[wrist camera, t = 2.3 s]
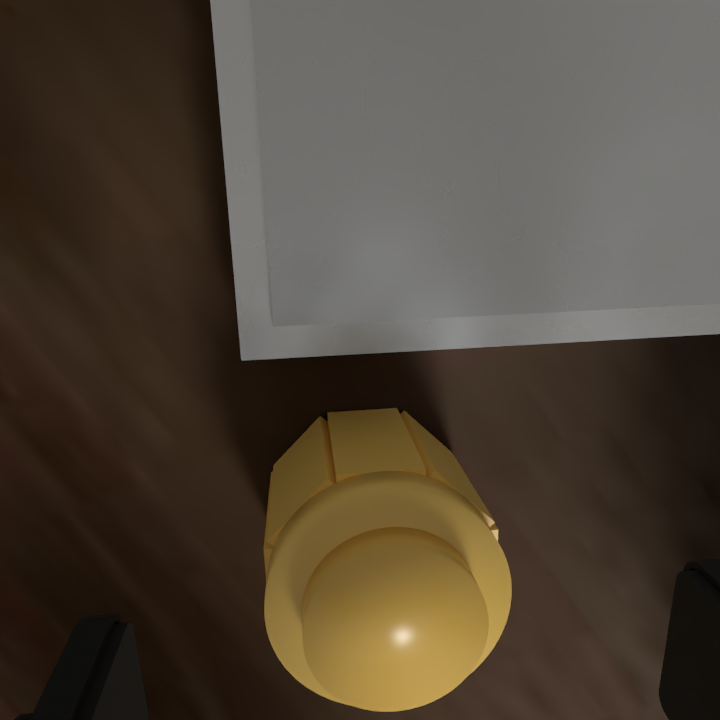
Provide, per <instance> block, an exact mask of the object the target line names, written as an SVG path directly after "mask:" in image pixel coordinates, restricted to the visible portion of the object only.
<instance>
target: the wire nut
mask: <svg viewBox="0 0 720 720" xmlns="http://www.w3.org/2000/svg"><path fill="white" fill-rule="evenodd" d="M327 418H328V422H327V421H326V420H325V419H324V418H323V417H321V416H319V417H318V419H317V420H316V421H315V422H314V423H313V424H312V425H311V426H310V427H309V428H308V429H307V430H306V431H305V432H304V433H303V434H302V435H301V437H300V438H299V439H298V440H297V441H296V442H295V443H294V444H293V445H292V446H291V447H290V448H289V449H288V450H287V451H286V452H285V453H284V454H283V456H282V457H281V458H280V459H279V460H278V461H277V462H276V463H275V464H274V465H273V472H271V477H270V488H269V498H268V508H267V519H266V529H265V540H264V561H265V573H266V589H265V601H264V618H265V624H266V630H267V634H268V637H269V640H270V643H271V645H272V647H273V649H274V651H275V653H276V655H277V657H278V659H279V660H280V661H281V663H282V664H283V666H284V667H285V668H286V669H287V670H288V672H289V673H290V674H291V675H292V676H293V677H294V678H295V679H296V680H298V681H299V682H300V683H302V684H303V685H304V686H305V687H307V688H308V689H310V690H312V691H313V692H315V693H317V694H319V695H321V696H323V697H325V698H328V699H330V700H332V701H336V702H339V703H343V704H346V705H351V706H354V707H358V708H361V709H365V710H371V711H381V712H392V711H402V710H408V709H413V708H416V707H420V706H423V705H426V704H428V703H431V702H433V701H435V700H437V699H439V698H441V697H443V696H444V695H446V694H447V693H449V692H450V691H452V690H453V689H454V688H456V687H457V686H458V685H459V684H460V683H461V682H462V681H463V680H464V679H465V678H466V677H467V676H468V675H469V674H471V673H472V672H473V671H474V670H475V669H476V668H477V667H478V666H479V665H480V664H481V663H482V662H483V661H484V660H485V659H486V657H487V656H488V655H489V653H490V652H491V651H492V649H493V648H494V646H495V645H496V643H497V641H498V639H499V638H500V636H501V634H502V632H503V629H504V627H505V624H506V622H507V618H508V614H509V610H510V605H511V596H512V588H511V576H510V571H509V566H508V563H507V560H506V558H505V555H504V552H503V551H502V549H501V547H500V545H499V543H498V528H497V527H496V525H495V521H494V520H493V518H492V516H491V515H490V513H489V512H488V510H487V508H486V507H485V505H484V504H483V502H482V500H481V499H480V497H479V495H478V494H477V492H476V491H475V489H474V487H473V486H472V484H471V482H470V481H469V479H468V478H467V476H466V474H465V473H464V471H463V470H462V468H461V466H460V465H459V463H458V461H457V460H456V458H455V457H454V455H453V453H452V452H451V451H450V450H449V449H448V448H446V447H445V446H444V445H443V444H442V443H441V442H440V441H438V440H437V439H436V438H435V437H434V436H433V435H432V434H430V433H429V432H428V431H427V430H426V429H425V428H424V427H423V426H421V425H420V424H419V423H418V422H417V421H416V420H415V419H413V418H412V417H411V416H410V415H409V414H408V413H407V412H405V411H403V412H402V413H401V414H400V413H399V411H398V409H397V408H388V409H372V410H357V411H341V412H327Z"/></svg>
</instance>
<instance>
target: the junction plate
mask: <svg viewBox="0 0 720 720" xmlns="http://www.w3.org/2000/svg"><path fill="white" fill-rule="evenodd" d="M210 4H211V15H212V27H213V39H214V50H215V62H216V74H217V85H218V97H219V108H220V120H221V132H222V143H223V155H224V167H225V178H226V190H227V201H228V213H229V225H230V236H231V248H232V260H233V271H234V283H235V295H236V306H237V318H238V329H239V341H240V353H241V361H245V360H263V359H281V358H299V357H317V356H335V355H353V354H370V353H388V352H406V351H424V350H442V349H460V348H478V347H496V346H514V345H531V344H549V343H567V342H585V341H603V340H621V339H639V338H657V337H675V336H692V335H710V334H720V0H210Z"/></svg>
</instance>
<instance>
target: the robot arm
mask: <svg viewBox="0 0 720 720" xmlns="http://www.w3.org/2000/svg"><path fill="white" fill-rule="evenodd" d="M659 697H660V702H661V705H662V708H663V710H664V712H665V714H666V716H667V717H668V719H669V720H720V559H715V560H704V561H693V562H689V563H687V564H686V565H685V567H684V570H683V571H682V572H679V573H678V575H677V578H676V583H675V589H674V596H673V602H672V609H671V615H670V622H669V628H668V635H667V641H666V648H665V654H664V661H663V667H662V674H661V680H660V687H659ZM14 720H150V719H149V714H148V708H147V702H146V696H145V690H144V684H143V678H142V673H141V667H140V661H139V655H138V649H137V643H136V637H135V632H134V627H133V624H132V623H131V622H127V623H123V622H122V618H121V617H120V615H119V614H110V615H99V616H88V617H82V618H81V619H80V620H79V621H78V623H77V624H76V626H75V628H74V630H73V632H72V634H71V636H70V639H69V641H68V643H67V645H66V647H65V649H64V651H63V653H62V655H61V657H60V659H59V661H58V663H57V665H56V667H55V669H54V671H53V673H52V675H51V677H50V679H49V681H48V683H47V685H46V687H45V690H44V692H43V694H42V696H41V698H40V700H39V702H38V704H37V706H36V708H35V710H34V712H33V713H30V714H21V715H19V716H18V717H17V718H16V719H14Z"/></svg>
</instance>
